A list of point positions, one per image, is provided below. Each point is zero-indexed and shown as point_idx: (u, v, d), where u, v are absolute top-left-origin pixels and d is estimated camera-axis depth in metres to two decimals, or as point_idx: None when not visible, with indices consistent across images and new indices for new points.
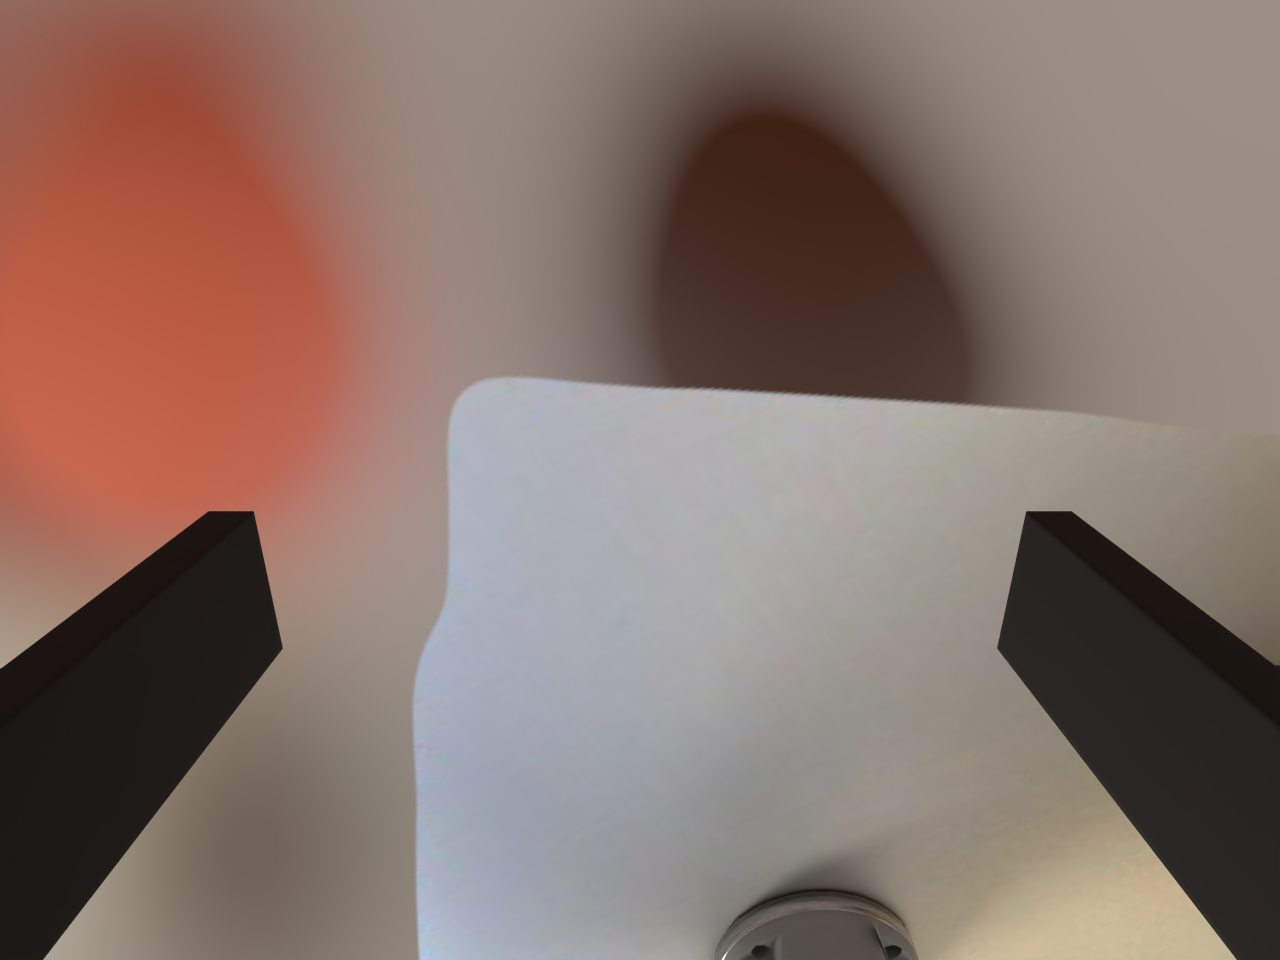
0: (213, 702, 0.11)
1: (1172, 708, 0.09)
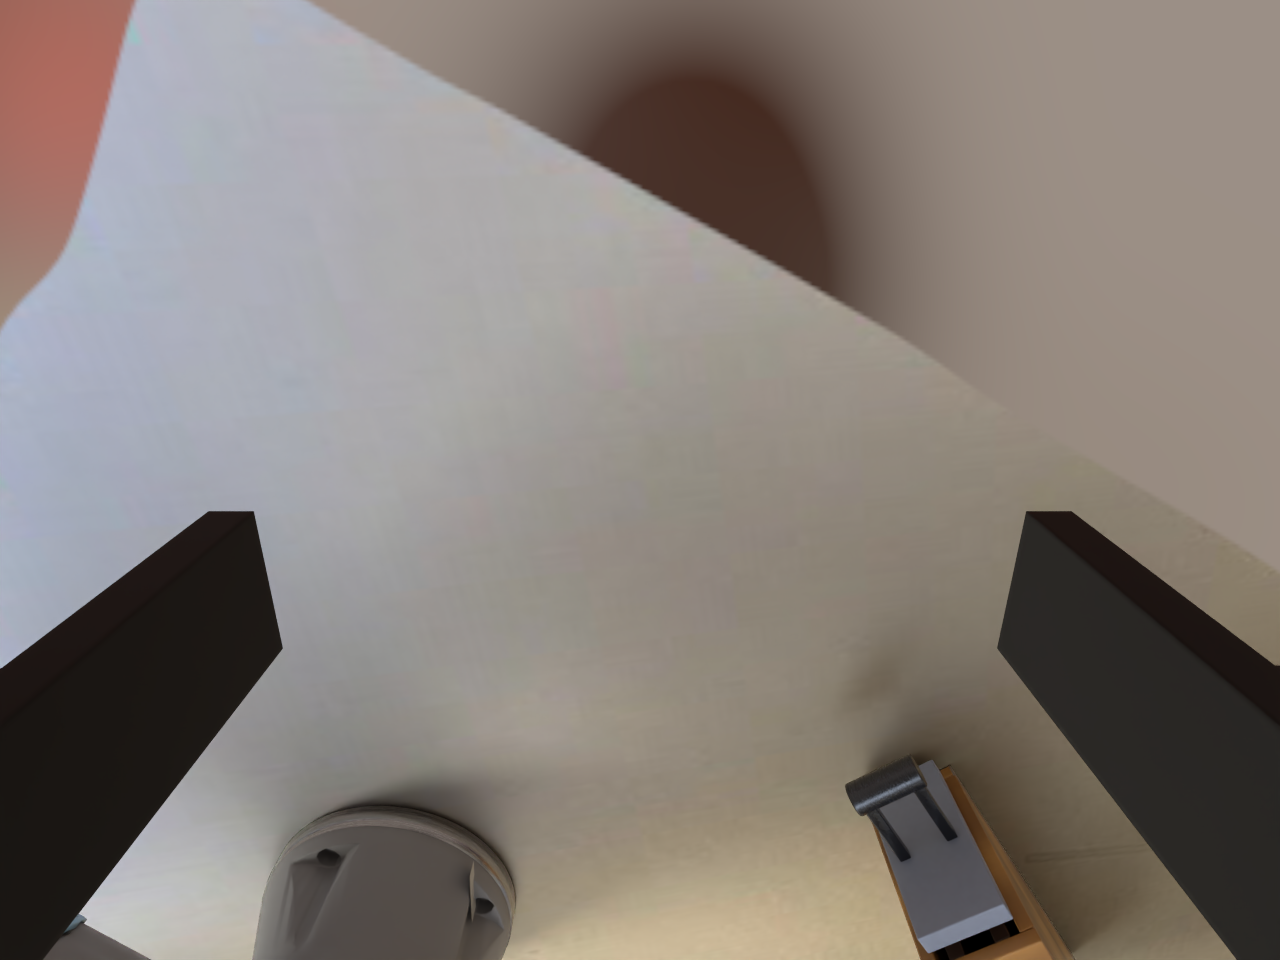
0: (213, 702, 0.11)
1: (1172, 708, 0.09)
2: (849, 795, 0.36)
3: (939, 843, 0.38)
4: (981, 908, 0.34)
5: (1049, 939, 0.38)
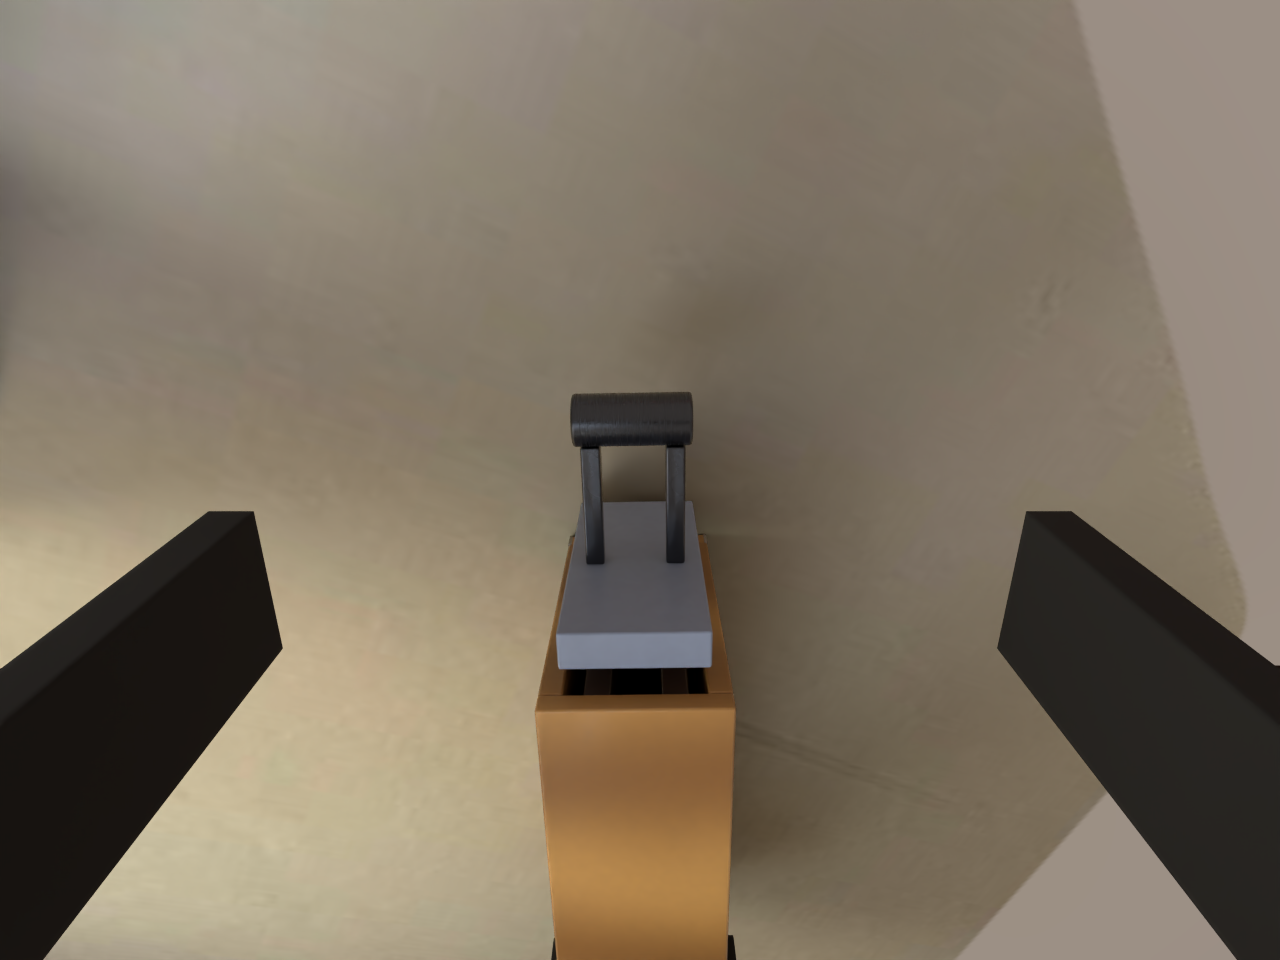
0: (213, 702, 0.11)
1: (1172, 708, 0.09)
2: (573, 400, 0.22)
3: (654, 562, 0.24)
4: (675, 628, 0.20)
5: None
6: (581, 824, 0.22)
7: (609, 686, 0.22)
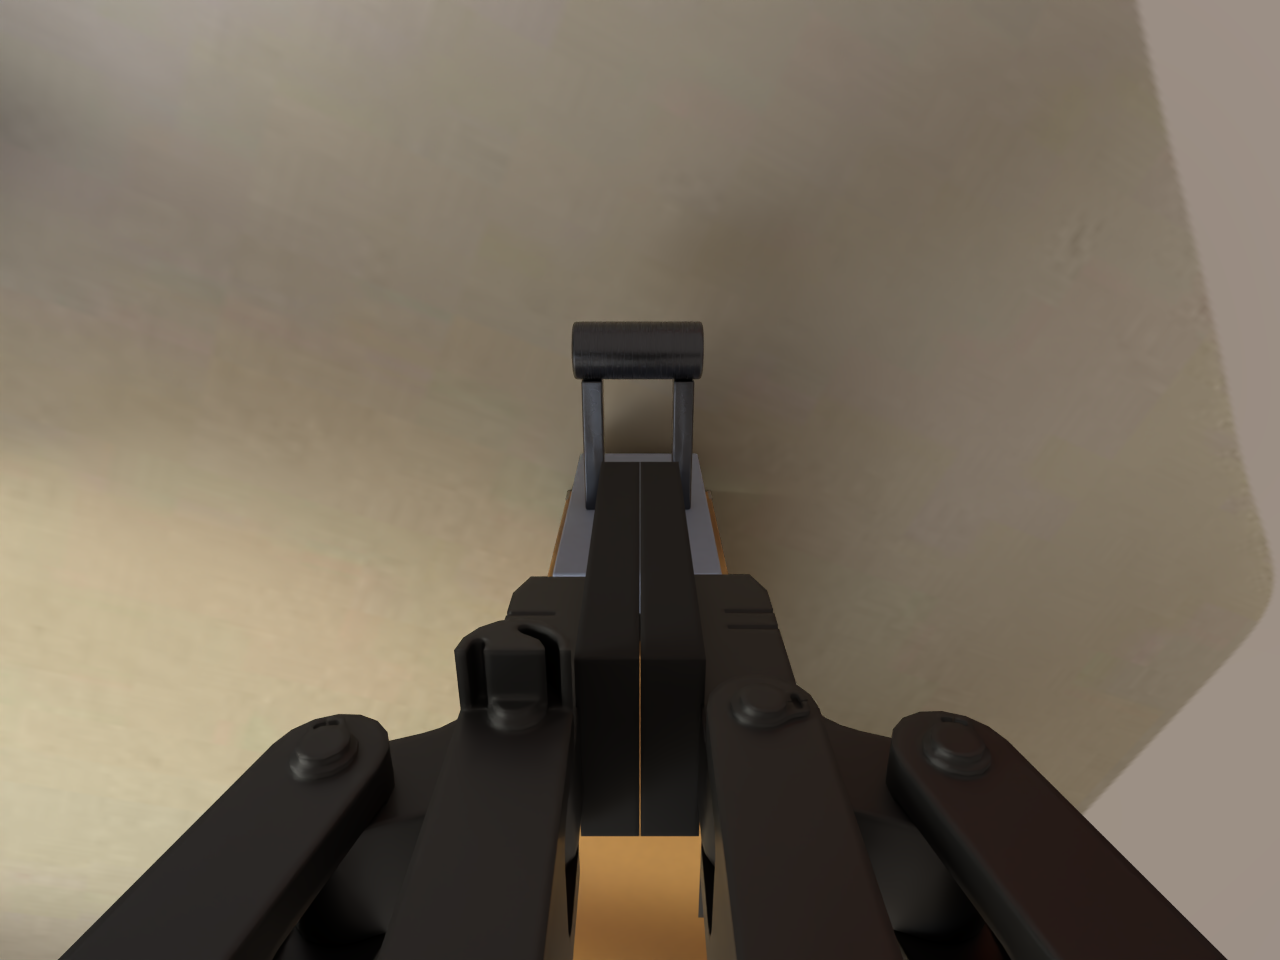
0: None
1: None
2: (575, 326, 0.20)
3: None
4: None
5: None
6: None
7: None
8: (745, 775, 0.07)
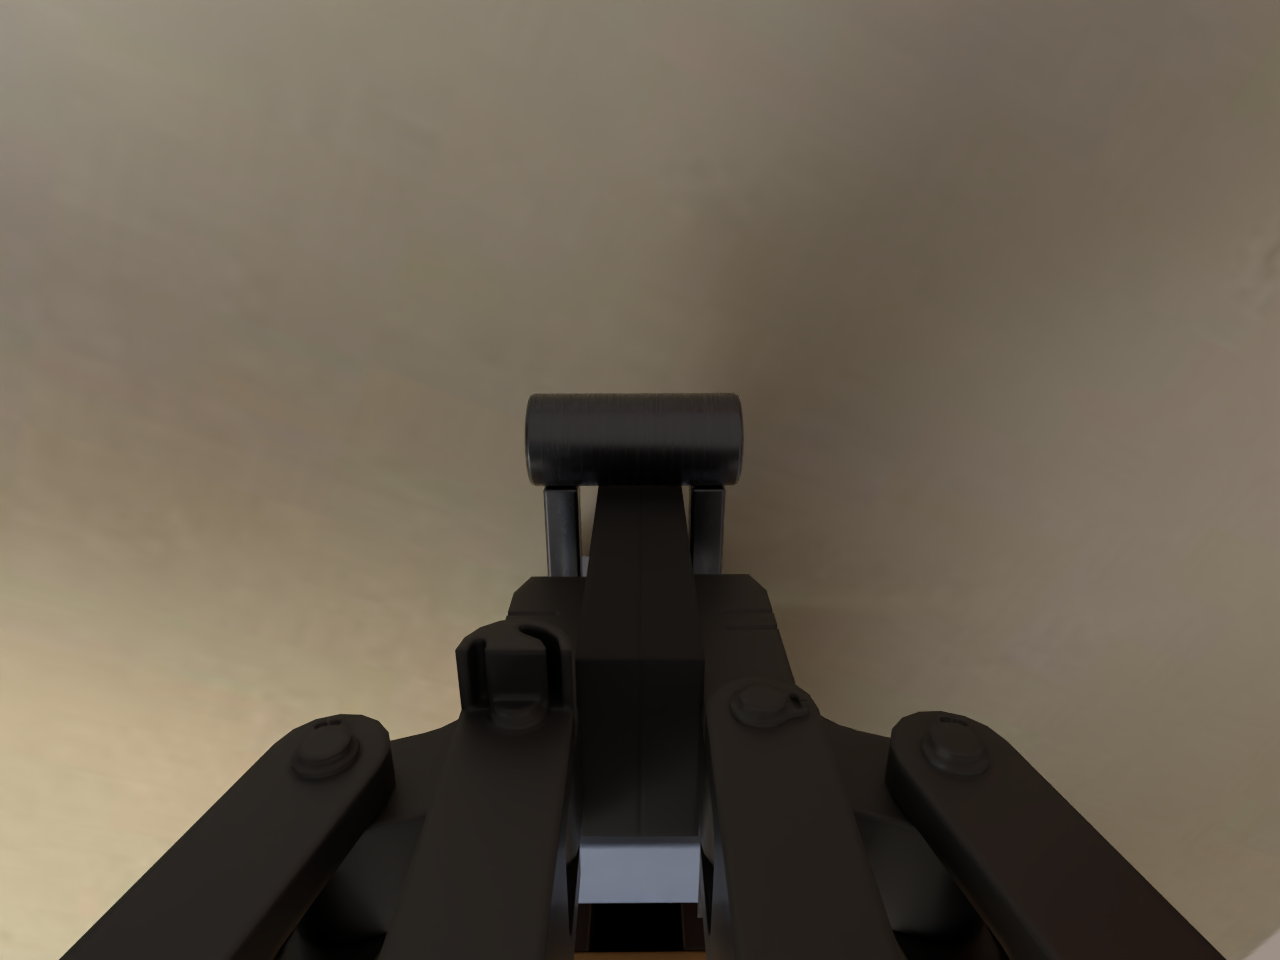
0: None
1: None
2: (531, 404, 0.12)
3: None
4: None
5: None
6: None
7: (588, 911, 0.12)
8: (744, 775, 0.07)
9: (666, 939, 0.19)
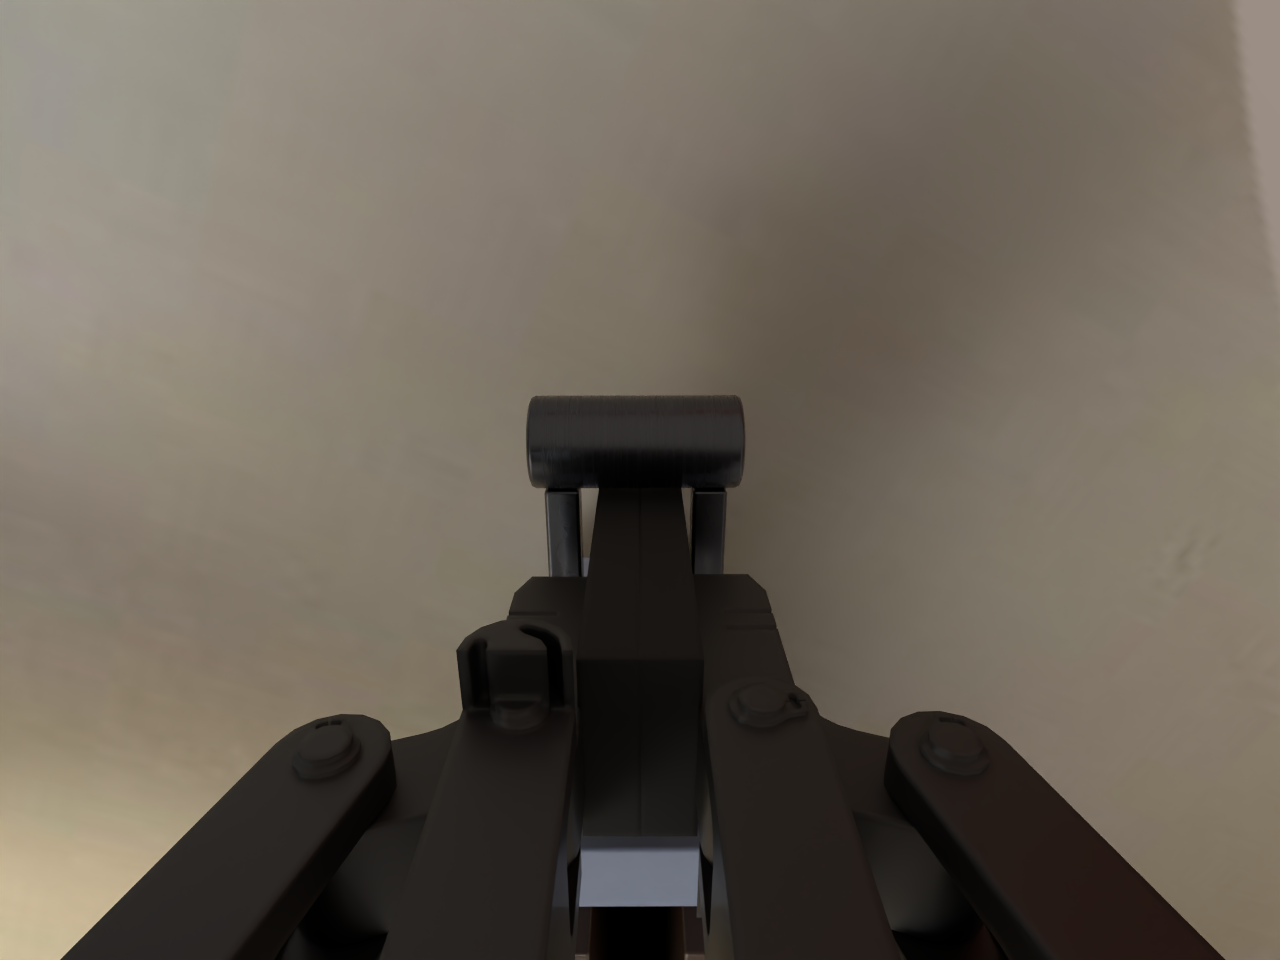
0: None
1: None
2: (532, 407, 0.12)
3: None
4: None
5: None
6: None
7: (589, 913, 0.12)
8: (743, 775, 0.07)
9: (667, 940, 0.19)
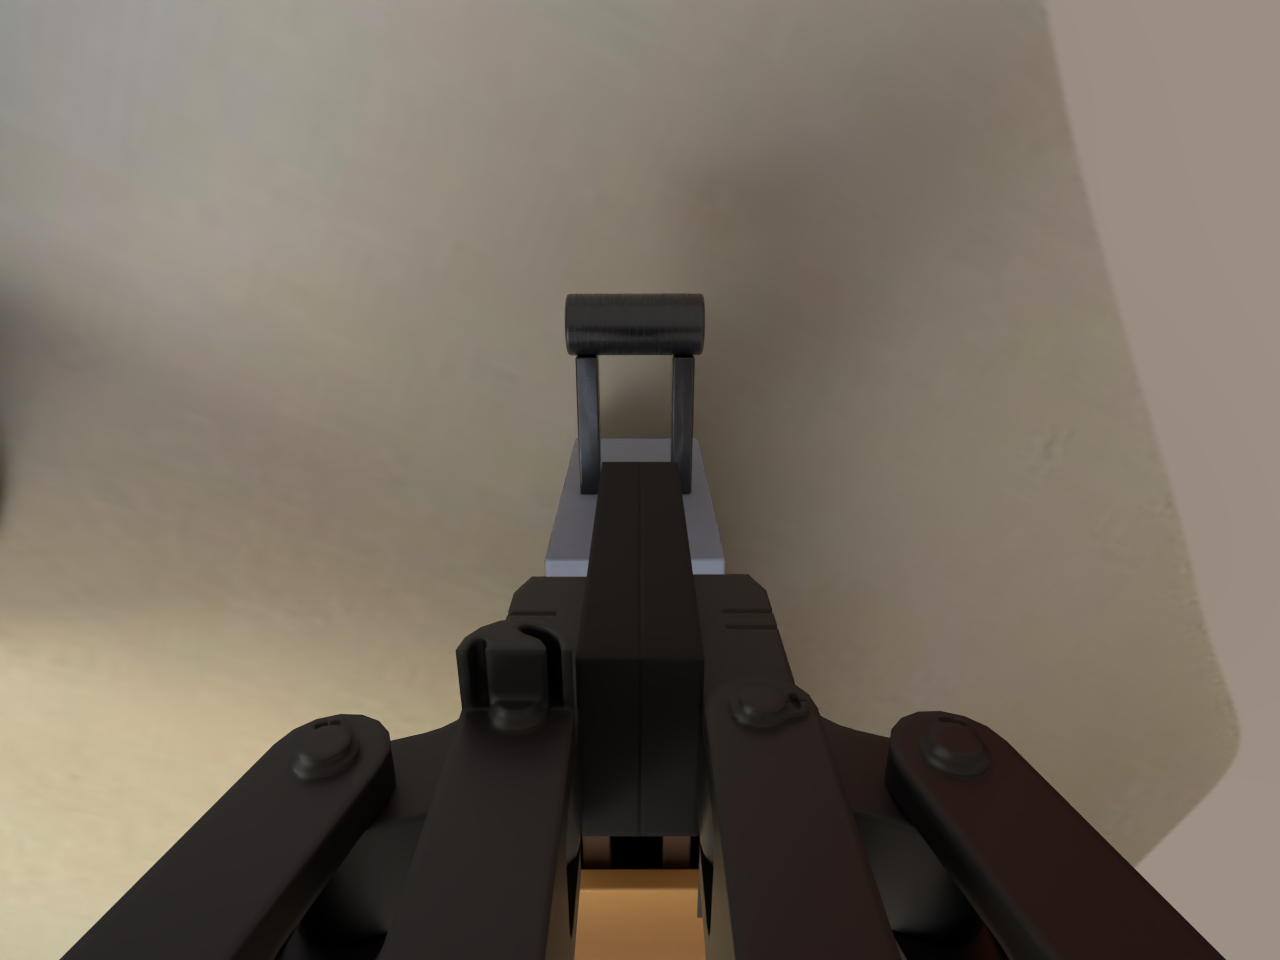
0: None
1: None
2: (568, 298, 0.19)
3: None
4: None
5: None
6: None
7: None
8: (743, 775, 0.07)
9: None
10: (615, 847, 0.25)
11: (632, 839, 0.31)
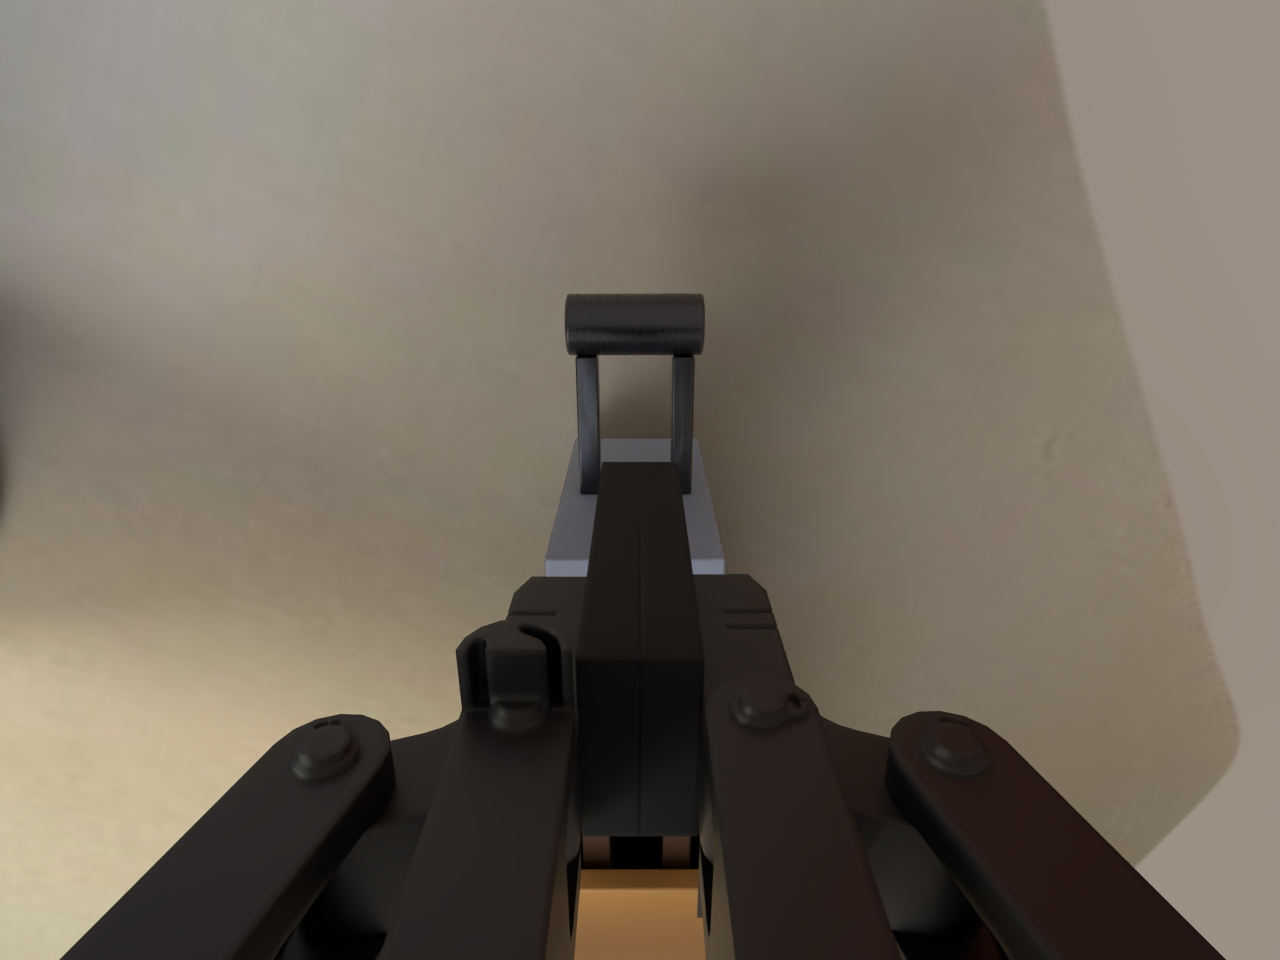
0: None
1: None
2: (568, 298, 0.19)
3: None
4: None
5: None
6: None
7: None
8: (743, 775, 0.07)
9: None
10: (615, 847, 0.25)
11: (632, 839, 0.31)
